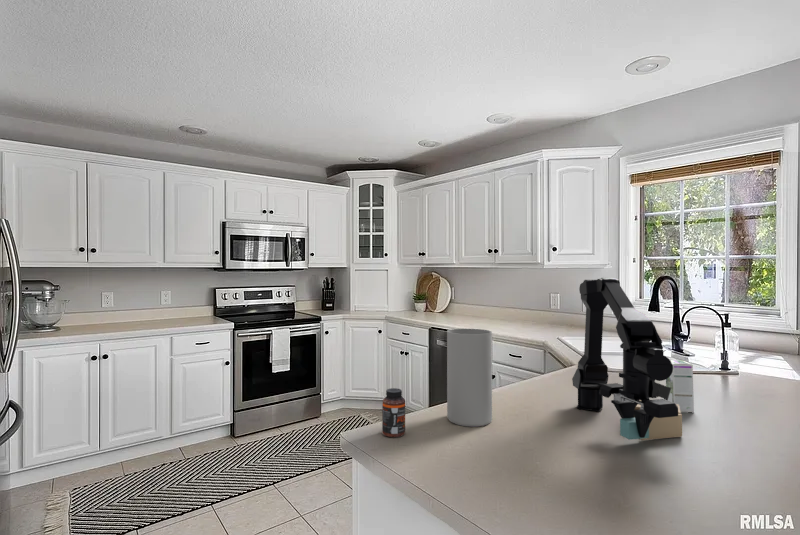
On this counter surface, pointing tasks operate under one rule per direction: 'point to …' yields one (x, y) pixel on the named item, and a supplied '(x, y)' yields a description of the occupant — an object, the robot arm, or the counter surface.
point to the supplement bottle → (393, 413)
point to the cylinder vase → (469, 377)
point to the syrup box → (681, 385)
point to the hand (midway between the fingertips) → (636, 434)
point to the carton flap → (653, 428)
